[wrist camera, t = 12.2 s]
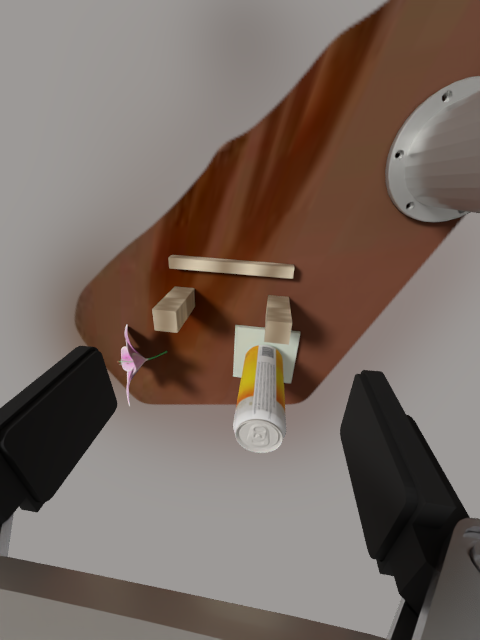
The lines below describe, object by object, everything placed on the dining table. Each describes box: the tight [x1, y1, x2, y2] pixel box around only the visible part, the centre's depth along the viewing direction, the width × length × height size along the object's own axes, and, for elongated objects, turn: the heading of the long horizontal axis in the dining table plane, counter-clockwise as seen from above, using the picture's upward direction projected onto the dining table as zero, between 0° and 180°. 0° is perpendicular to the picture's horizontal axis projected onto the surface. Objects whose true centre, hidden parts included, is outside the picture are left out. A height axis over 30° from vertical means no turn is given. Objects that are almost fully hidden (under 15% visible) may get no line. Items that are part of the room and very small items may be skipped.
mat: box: [233, 325, 300, 383], centre depth 41 cm, size 10×10×1 cm
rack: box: [152, 255, 294, 345], centre depth 33 cm, size 17×8×8 cm, turn 87°
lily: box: [116, 325, 167, 405], centre depth 41 cm, size 12×12×10 cm
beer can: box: [233, 345, 286, 453], centre depth 35 cm, size 6×6×15 cm
